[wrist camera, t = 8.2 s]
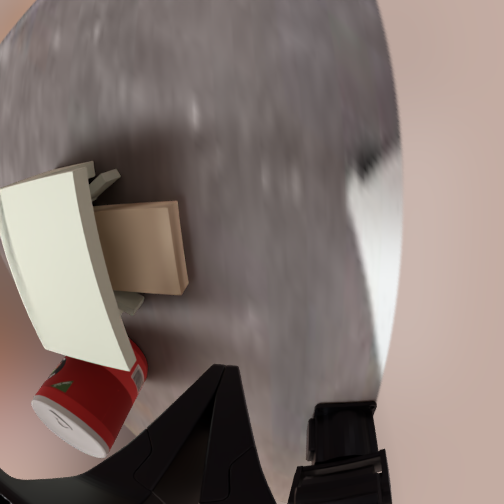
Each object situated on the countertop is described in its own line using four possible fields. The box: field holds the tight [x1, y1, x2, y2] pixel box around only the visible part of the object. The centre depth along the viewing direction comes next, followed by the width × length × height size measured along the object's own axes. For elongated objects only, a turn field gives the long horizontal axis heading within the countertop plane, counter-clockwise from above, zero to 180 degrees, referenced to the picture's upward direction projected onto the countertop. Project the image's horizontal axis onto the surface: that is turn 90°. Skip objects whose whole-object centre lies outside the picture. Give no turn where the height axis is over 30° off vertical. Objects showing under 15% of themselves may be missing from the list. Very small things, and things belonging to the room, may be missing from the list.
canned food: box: [31, 338, 148, 458], centre depth 22 cm, size 8×8×11 cm
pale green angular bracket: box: [0, 161, 144, 371], centre depth 18 cm, size 9×13×7 cm
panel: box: [93, 201, 189, 295], centre depth 21 cm, size 10×6×2 cm, turn 92°
